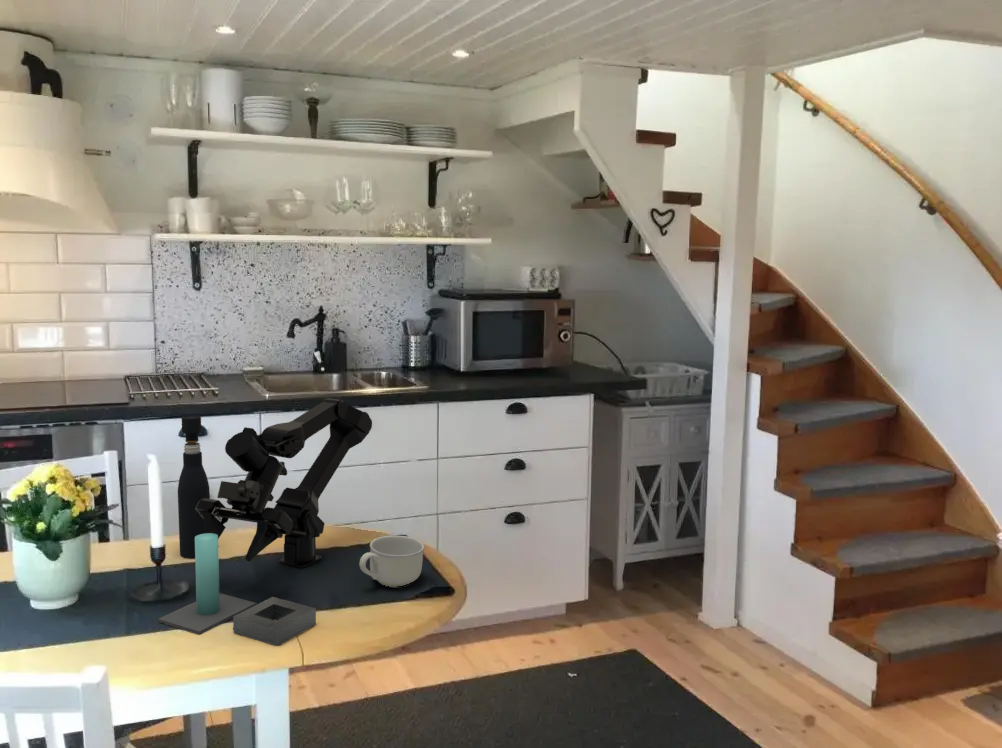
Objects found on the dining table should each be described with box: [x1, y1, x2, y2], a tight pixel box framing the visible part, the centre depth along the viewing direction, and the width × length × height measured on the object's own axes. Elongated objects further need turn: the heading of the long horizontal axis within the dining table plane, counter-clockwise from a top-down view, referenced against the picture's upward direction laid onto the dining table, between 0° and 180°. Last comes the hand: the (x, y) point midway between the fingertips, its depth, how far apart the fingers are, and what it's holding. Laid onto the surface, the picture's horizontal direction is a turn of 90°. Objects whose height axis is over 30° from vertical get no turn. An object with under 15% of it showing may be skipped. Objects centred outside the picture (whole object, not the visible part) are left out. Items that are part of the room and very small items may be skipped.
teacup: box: [358, 535, 425, 588], centre depth 182 cm, size 14×11×8 cm
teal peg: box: [194, 533, 220, 615], centre depth 166 cm, size 4×4×14 cm
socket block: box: [232, 596, 317, 647], centre depth 161 cm, size 10×10×3 cm
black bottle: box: [177, 414, 211, 560], centre depth 194 cm, size 6×6×30 cm
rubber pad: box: [157, 592, 257, 635], centre depth 167 cm, size 14×10×1 cm
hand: (226, 556), depth 170 cm, fingers open, 9 cm apart
